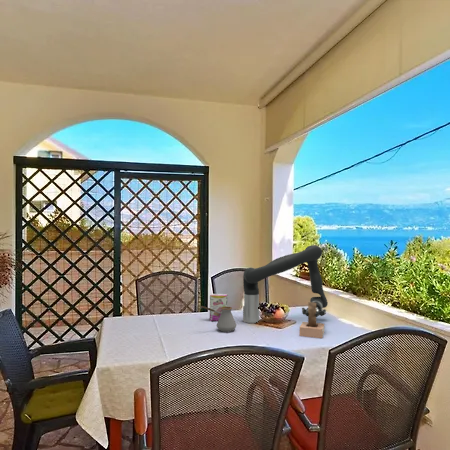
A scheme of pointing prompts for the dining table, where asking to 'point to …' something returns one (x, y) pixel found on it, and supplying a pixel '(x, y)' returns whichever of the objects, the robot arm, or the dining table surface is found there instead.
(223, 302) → the candy bar box
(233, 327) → the coffee pot
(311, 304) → the walnut peg
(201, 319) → the dining table surface
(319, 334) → the socket block
